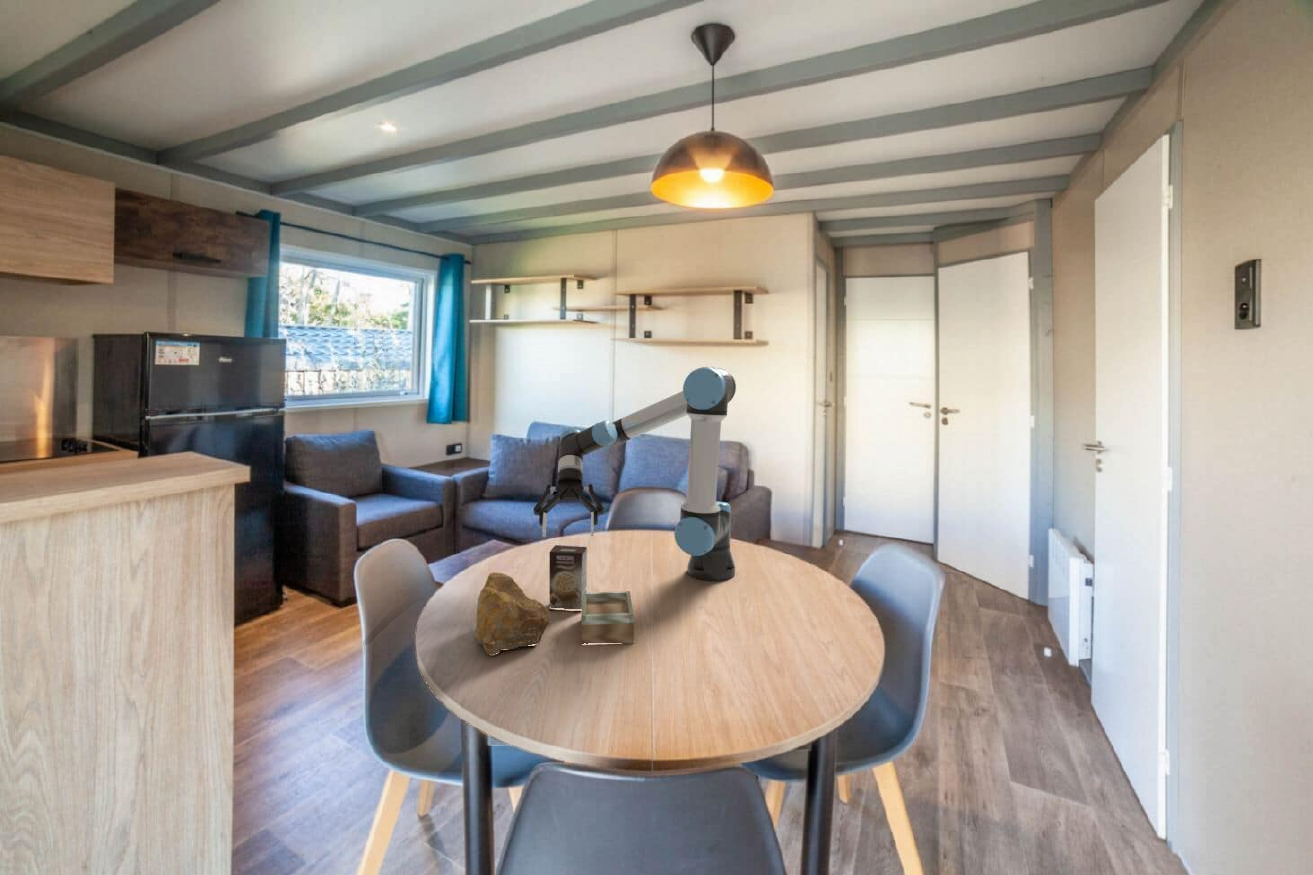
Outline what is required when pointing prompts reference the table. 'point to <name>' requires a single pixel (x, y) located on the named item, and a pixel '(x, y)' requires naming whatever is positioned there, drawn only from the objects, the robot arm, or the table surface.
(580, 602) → the coffee box
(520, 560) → the table surface
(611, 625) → the open wooden box
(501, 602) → the rough brown rock
